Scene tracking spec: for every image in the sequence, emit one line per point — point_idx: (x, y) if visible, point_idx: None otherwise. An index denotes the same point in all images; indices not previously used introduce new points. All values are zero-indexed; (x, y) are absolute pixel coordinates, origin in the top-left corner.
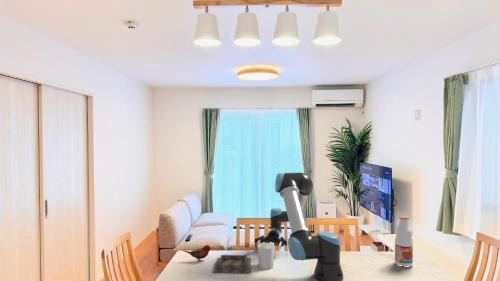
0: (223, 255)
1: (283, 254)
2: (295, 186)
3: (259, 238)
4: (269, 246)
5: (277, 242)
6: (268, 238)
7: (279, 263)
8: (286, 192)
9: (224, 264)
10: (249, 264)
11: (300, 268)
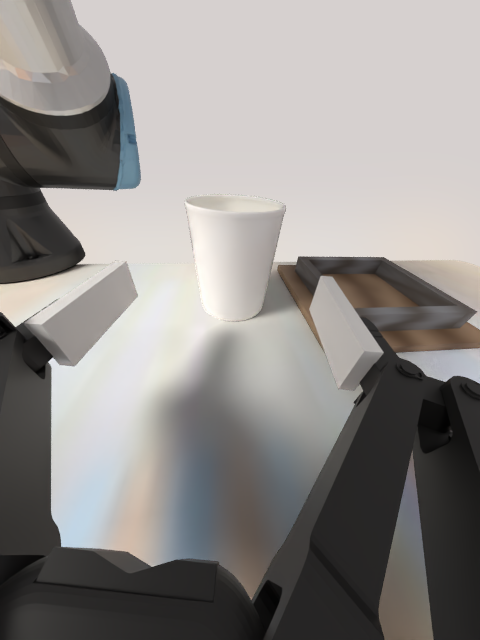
0: (457, 306)
1: (52, 515)
2: None
3: (472, 483)
4: (215, 233)
5: (45, 478)
6: (244, 602)
7: (166, 328)
8: None
9: (367, 258)
10: (299, 295)
11: None
